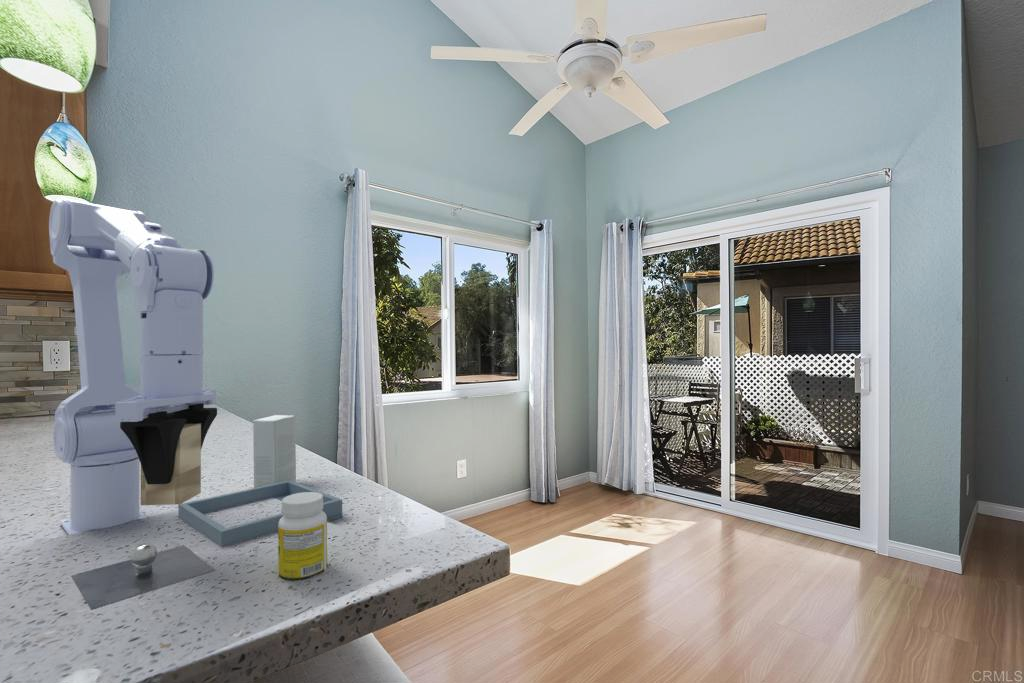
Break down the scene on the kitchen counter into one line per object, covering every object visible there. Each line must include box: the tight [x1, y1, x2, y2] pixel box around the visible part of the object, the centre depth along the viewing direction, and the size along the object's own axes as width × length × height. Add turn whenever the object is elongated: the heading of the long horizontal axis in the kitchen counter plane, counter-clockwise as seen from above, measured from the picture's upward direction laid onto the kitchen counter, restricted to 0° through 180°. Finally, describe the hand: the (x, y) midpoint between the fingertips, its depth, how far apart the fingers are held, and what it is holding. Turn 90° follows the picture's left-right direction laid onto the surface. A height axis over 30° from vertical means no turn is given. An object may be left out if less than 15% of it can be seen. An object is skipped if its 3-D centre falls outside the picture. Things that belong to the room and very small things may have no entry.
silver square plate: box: [70, 543, 216, 611], centre depth 51 cm, size 10×10×4 cm
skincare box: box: [252, 414, 297, 488], centre depth 85 cm, size 6×4×12 cm
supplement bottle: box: [277, 492, 328, 582], centre depth 51 cm, size 5×5×8 cm
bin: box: [177, 480, 343, 548], centre depth 68 cm, size 16×16×2 cm
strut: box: [140, 424, 202, 506], centre depth 54 cm, size 4×4×8 cm
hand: (172, 477), depth 54 cm, fingers closed on strut, 4 cm apart
